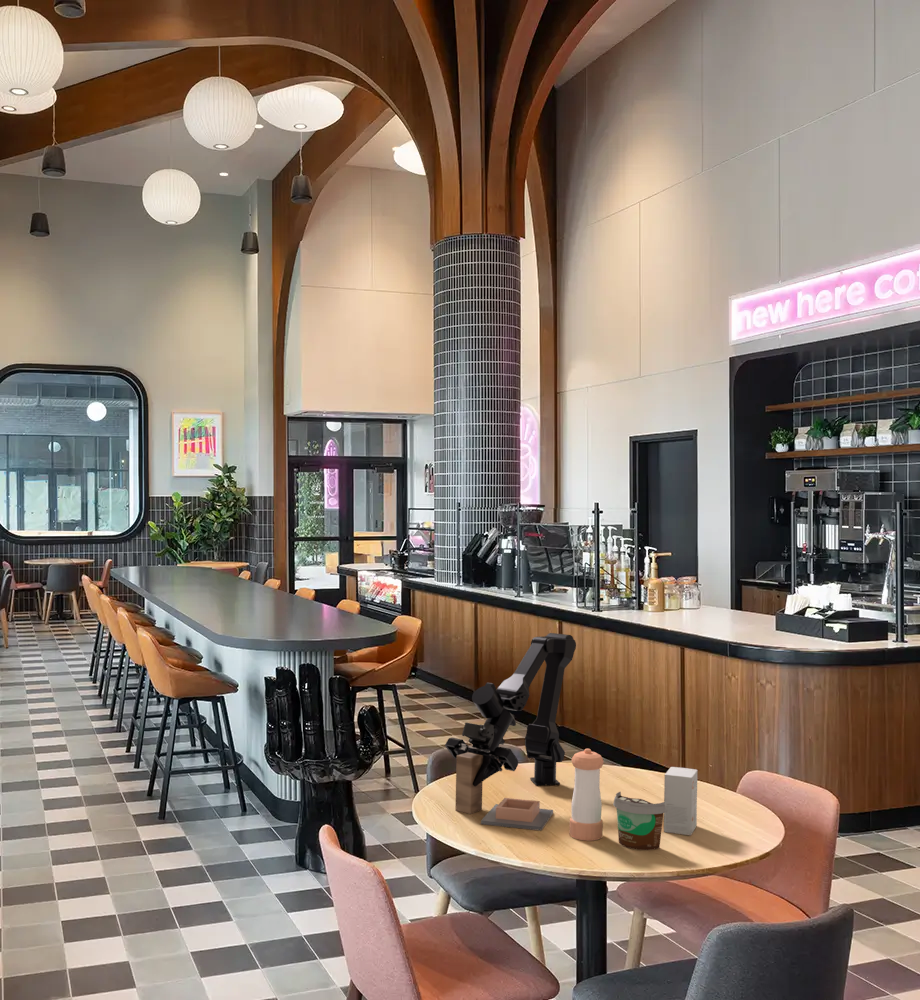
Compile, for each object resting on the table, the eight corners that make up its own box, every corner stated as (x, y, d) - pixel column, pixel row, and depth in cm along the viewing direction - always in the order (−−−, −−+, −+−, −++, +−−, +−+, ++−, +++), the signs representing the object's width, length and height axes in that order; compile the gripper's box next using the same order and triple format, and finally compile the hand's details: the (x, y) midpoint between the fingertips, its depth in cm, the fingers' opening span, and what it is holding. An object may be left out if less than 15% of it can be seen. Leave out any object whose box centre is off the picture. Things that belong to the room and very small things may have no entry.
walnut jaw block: (466, 806, 253) (468, 752, 253) (481, 809, 250) (483, 755, 250) (455, 810, 249) (456, 755, 249) (470, 814, 246) (471, 758, 246)
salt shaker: (596, 829, 236) (598, 744, 236) (606, 840, 229) (608, 752, 229) (565, 830, 235) (567, 745, 235) (574, 841, 228) (576, 753, 228)
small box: (669, 822, 243) (670, 766, 243) (697, 825, 241) (698, 769, 241) (662, 832, 236) (663, 774, 236) (691, 836, 234) (692, 777, 234)
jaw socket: (495, 807, 252) (496, 793, 252) (553, 813, 248) (553, 799, 248) (480, 824, 239) (481, 809, 239) (541, 830, 235) (541, 815, 235)
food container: (601, 842, 228) (602, 796, 228) (617, 836, 232) (618, 790, 232) (649, 856, 219) (650, 808, 219) (665, 849, 224) (666, 802, 224)
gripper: (450, 704, 258) (420, 757, 250) (512, 715, 247) (483, 770, 238) (469, 731, 265) (440, 783, 256) (530, 743, 253) (502, 798, 244)
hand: (465, 783), depth 248 cm, fingers closed on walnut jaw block, 4 cm apart
